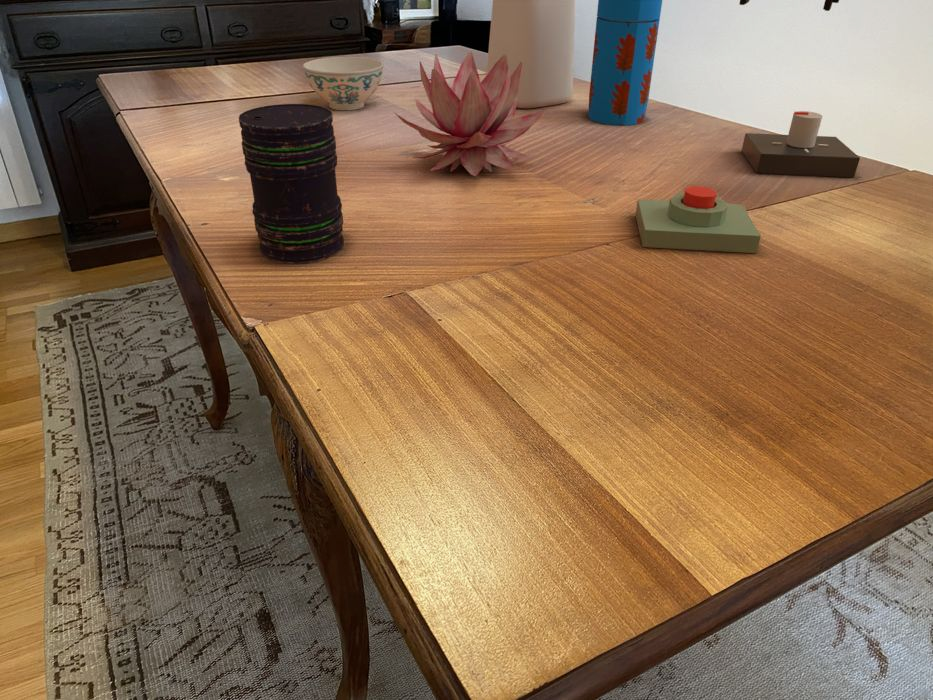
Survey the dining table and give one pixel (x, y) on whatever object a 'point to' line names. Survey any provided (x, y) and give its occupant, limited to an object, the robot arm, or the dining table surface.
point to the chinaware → (344, 80)
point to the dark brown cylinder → (293, 181)
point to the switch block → (696, 226)
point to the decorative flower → (473, 116)
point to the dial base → (799, 156)
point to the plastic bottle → (535, 47)
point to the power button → (699, 197)
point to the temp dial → (804, 129)
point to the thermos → (623, 60)
